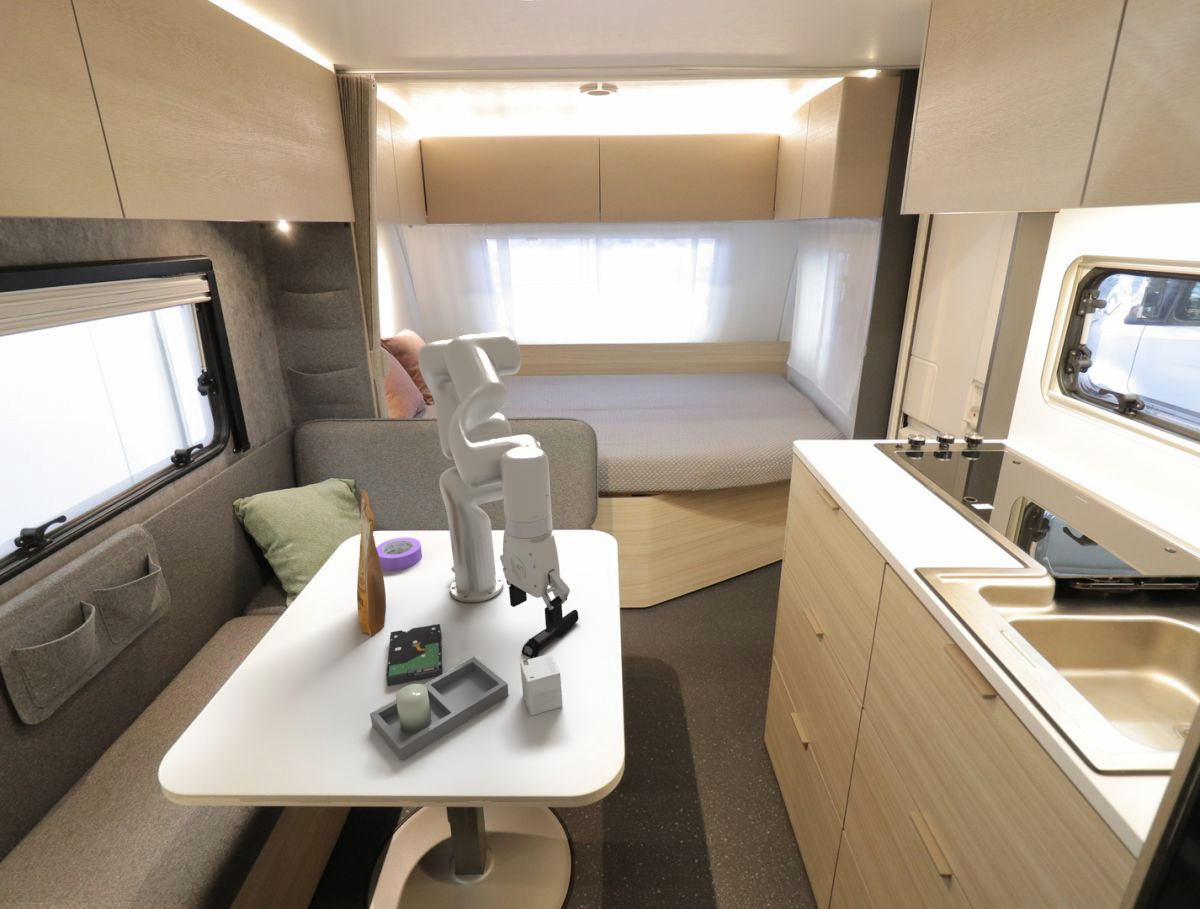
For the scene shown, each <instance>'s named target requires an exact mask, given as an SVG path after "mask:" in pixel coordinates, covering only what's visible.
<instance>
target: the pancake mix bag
mask: <svg viewBox="0 0 1200 909" xmlns="http://www.w3.org/2000/svg"><path fill="white" fill-rule="evenodd" d="M359 490H360V493H361V502H360V504H361V505H360V542H359V557H358V558H359V559H358V568H357V585H356V600H357V602H356V603H357V613H358V620H359V625H360V629H361V632H362V634H368V635H369V636H370V638H372V637H374V636H375V635H377V634H378V633H380V632H381V631H382V629H383V628H384V627H385V622H386V615H387V614H386V613H387V612H386V611H387V593H386V586H385V579H384V573H383V572H384V571H383V569H382V567H381V562H380V558H379V555H378V551H377V549H376V547H377V545H376V541H375V536H374V530H375V515H374V512H373V511H372V508H371V506H370V499H369V493H367V491H366V490H364V489H363V488H360V489H359Z"/></svg>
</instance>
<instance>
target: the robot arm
mask: <svg viewBox="0 0 1200 909" xmlns="http://www.w3.org/2000/svg"><path fill="white" fill-rule="evenodd" d="M522 360H523V359H522V351H521V348H520V346H519V343H518V342H517V340H516V338H515V337H513V335H511V334H510V333H509V332H504V331H499V332H488V333H487V332H486V333H476V334H475V333H474V334H465V335H460V336H457V337H455V338H453V339H444V340H438V341H437V340H436V341H432V342H428V343H425V344H424V345H423V346H421V347H420V349H419V351H418V355H417V362H418V367H419V372H420V374H421V377H422V378H423V381H424V383H425V384H426V386H427V389H428V390H429V392H430V394H431V397H432V399H433V403H434V408H435V416H436V424H437V429H438V435H439V442H440V447H441V451H442V453H443V455H444V457H445V458H446V459H448V460H453V461H454V463H455V466H452V467H449V468H447V469H445V470H444V471H443V472H442V473H441V475H440V476H439V481H438V482H439V488H440V489H439V490H440V493H441V496H442V500H443V502H444V503H443V504H444V506H445V511H446V516H447V524H448V529H449V537H450V545H451V553H452V562H453V565H452V567H451V568H450V570H451V571H452V572H453V573H454V576H455V577H454V578H455V579H454V581H452V583H451V585H450V586H449V591H450V595H451V596H452V598H453V599H455V600H457V601H459V602H463V603H480V602H484V601H487V600H490V599H493V598H494V597H496V596H497V595H499V594H500V593H501V592H502V590H503V589H504V580H503V578H502V577H501V575H499V574H498V573H496V564H495V562H496V561H495V554H494V553H495V552H494V543H493V542H494V541H493V540H494V539H493V530H492V521H491V519H490V517H489V515H488V514H487V513H486V512H485V510H484V509H482V508H481V507H479V506H480V505H482V504H486V503H491V502H497V501H499V500H503V509H504V510H503V511H504V521H505V528H504V532H503V538H502V539H503V540H502V554H501V555H500V556H499V559H500V562H501V565H502V567H503V568H502V571H503V573H504V574H503V575H504V578H505V579H506V580H505V582H506V584H507V586H508V593H509V603H510V607H512V608H515V607H517V606H519V605H521V604H523V603H526V602H527V600H528V596H527V595H530V596H532V597H534V598H536V599H537V598H539V599H540V598H542V599H543V602H544V604H545V606H546V607H544V621H545V629H546V628H547V629H548V630H550V629H552V628H554V627H556V626H557V625H559V624H561V623H562V622H563V617H564V616H563V605H564V603H565V602H566V601H567V600H568V597H569V594H570V592H571V589H570V587H569V586H568V584H566V582H565V581H564V579H562V578H561V571H560V563H559V562H560V561H559V554H558V549H557V544H556V539H555V535H554V533H553V530H554V528H553V516H552V515H553V513H552V501H551V500H552V499H551V486H550V485H551V483H550V482H551V481H550V470H549V468H550V467H549V457H548V455H547V453H546V451H544V450H543V449H542V445H541V443H540V442H539V441H537V439H536V437H534V436H533V435H531V434H527V433H526V434H517V435H513V432H512V426H511V425H510V422H509V420H508V419H507V417H506V415H504V413H501V412H500V411H501V410H502V409H503V407H505V404H506V402H507V400H508V391H507V389H506V386H505V384H504V381H503V379H502V378H501V377H502V376H511V375H515V374H517V373H518V372H519V371H520V368H521V367H522V362H523V361H522ZM548 587H549V588H548ZM549 593H552V594H553V595H554V598H553V599H551V597H550V595H549Z"/></svg>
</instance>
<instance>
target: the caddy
mask: <svg viewBox="0 0 1200 909" xmlns="http://www.w3.org/2000/svg"><path fill="white" fill-rule="evenodd" d="M422 685H424V686H426V688H427V690H428V697H429V704H430V710H431V717H432V721H431V724H430V725H429V727H427V728H425V729H424V730H422V731H420V732H419V733H416V734H407V733H405V732H403V731H402V730H401V726H400V721H399V715H398V709H397V703H396V699H394V700H392V701H391V702H389V703H387V704H385V705H383V706H381V707H380V708H378V709H376V710H374V711H372V712H371V713H370V714H369V716H370V720H371V721H370V722H371V726H372V727H373V729H374V730H375V731H376V732H377V733H378V734H379V736H380V737H381V738H382V740H383V741H384V742H385V743H386V744H387V745H388V746H389V748H390V749H391V750H392V751H393V752H394V754H395V755H396V756H397V757H398V758H399V760H400V762H404V761H406V759H409V758H410V757H412V756H413V755H415V754H417V753H418V752H420V751H422V750H423V749H425V748H426V747H428V746H429V745H431V744H432V743H434V742H435V741H438V740H439V739H441V738H442V737H444V736H446V735H448V734H449V733H450V732H453V730H455V729H457V728H458V727H460V726H461V725H463V724H465V723H466V722H468V721H469V720H471V719H473V718H475V717H476V716H478V715H480V714H481V713H482V712H484V711H486V710H488V709H490V708H491V707H492V706H494V705H496V704H497V703H499V702H500V701H502V700H503V699H505V698H507V697H508V696H509V686H508V685H509V684H508V683H507V682H506V681H505V680H503V679H502V678H501V677H500V676H499V675H497V673H495V672H494V671H492V670H491V669H490V668H489V667H487V666H486V665H485V664H484V663H483V662H482V661H480V660H478V659H477V658H476V657H475V656H472V657H471V658H469V659H468V660H466V661H464V662H462V663H460V664H458V665H456V666H454V667H452V668H451V669H449V670H447V671H446V672H444V673H442V675H440V676H438V677H434V678H432V679H430V680H429V681H427V682H425V683H423V684H422Z"/></svg>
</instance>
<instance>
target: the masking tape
mask: <svg viewBox="0 0 1200 909" xmlns="http://www.w3.org/2000/svg"><path fill="white" fill-rule="evenodd" d="M376 549H377V551H378V555H379V558H380V562H381V567H382V570H385V571H400V570H404V569H407V568H410V567H412V566H415V565H417V564H418V563H419V562H420V561H421V560H422V558H423V552H422V545H421V541H420V540H418V539H416V538H414V537H405V536H404V537H396V538H395V537H394V538H392V539H387V540H386V541H384V542H381V543H380V544H379V545H376Z"/></svg>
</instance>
